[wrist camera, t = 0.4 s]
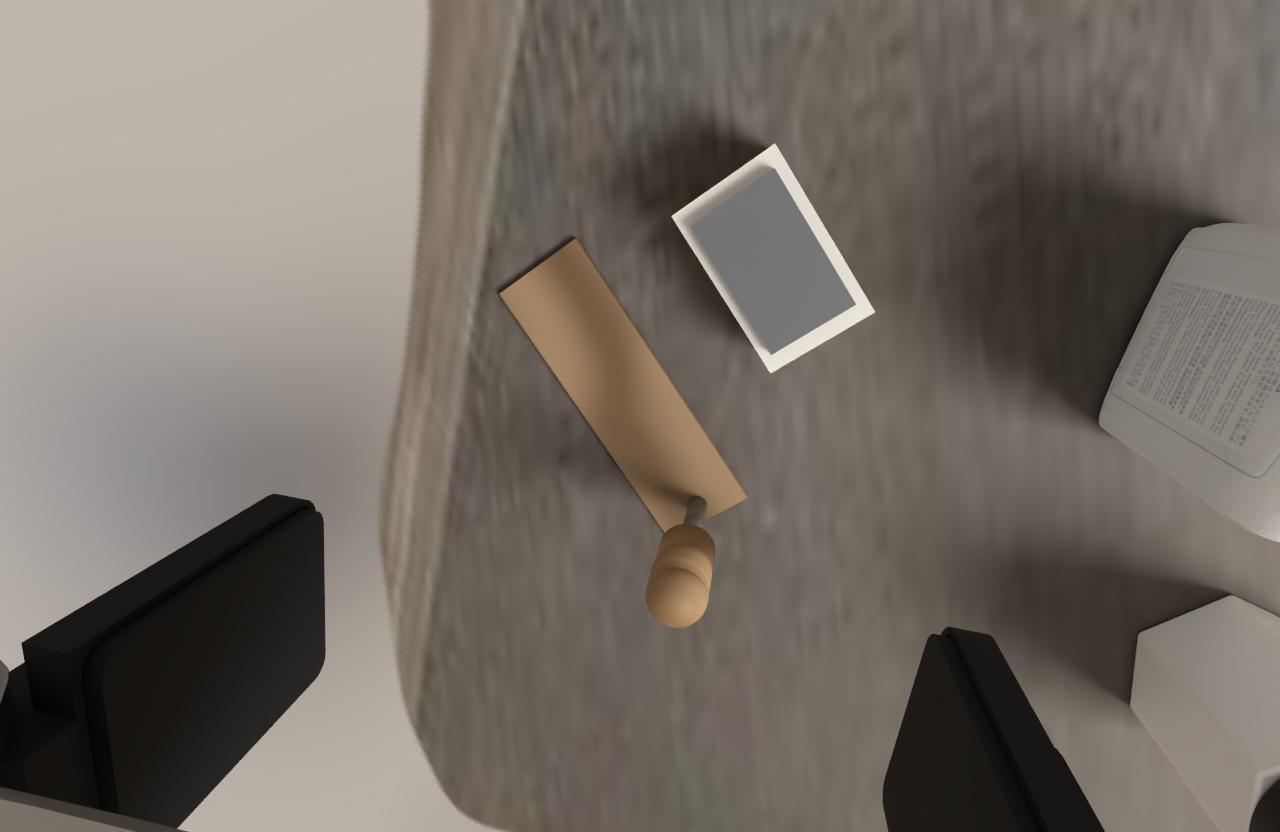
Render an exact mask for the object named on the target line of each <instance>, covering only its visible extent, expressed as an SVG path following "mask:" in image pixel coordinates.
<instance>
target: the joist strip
mask: <svg viewBox="0 0 1280 832" xmlns="http://www.w3.org/2000/svg"><path fill="white" fill-rule="evenodd" d="M500 296H501V297H502V299H503V300H504V302H505V303H506V304H507V306H508V307H509V309H510V310H511V312H512V313H513V315H514V316H515V317H516V319H517V320H518V322H519V323H520V325H521V326H522V328H523V329H524V330H525V332H526V333H527V335H528V336H529V338H530V339H531V341H532V342H533V343H534V345H535V346H536V348H537V349H538V351H539V352H540V354H541V355H542V356H543V358H544V359H545V361H546V362H547V364H548V365H549V367H550V368H551V369H552V371H553V372H554V374H555V375H556V377H557V378H558V380H559V381H560V382H561V384H562V385H563V387H564V388H565V390H566V391H567V393H568V394H569V395H570V397H571V398H572V400H573V401H574V403H575V404H576V405H577V407H578V408H579V410H580V411H581V413H582V414H583V416H584V417H585V418H586V420H587V421H588V423H589V424H590V426H591V427H592V429H593V430H594V431H595V433H596V434H597V436H598V437H599V439H600V440H601V442H602V443H603V444H604V446H605V447H606V449H607V450H608V452H609V453H610V455H611V456H612V457H613V459H614V460H615V462H616V463H617V465H618V466H619V468H620V469H621V470H622V472H623V473H624V475H625V476H626V478H627V479H628V481H629V482H630V483H631V485H632V486H633V488H634V489H635V491H636V492H637V494H638V495H639V496H640V498H641V499H642V501H643V502H644V504H645V505H646V506H647V508H648V509H649V511H650V512H651V514H652V515H653V517H654V518H655V519H656V521H657V522H658V524H659V525H660V527H661V528H662V530H663V531H664V532H666V531H667V530H669V529H670V528H672V527H673V526H676V525H679V524H683V522H684V518H685V514H686V510H687V506H688V502H689V500H690V499H691V498H692V497H694V496H701V497H703V498H704V499H705V500H706V502H707V508H706V513H705V518H704V521H705V520H707V519H709V518H711V517H713V516H715V515H716V514H718V513H720V512H722V511H724V510H726V509H728V508H730V507H732V506H733V505H735V504H737V503H739V502H741V501H743V500H745V499H747V498H748V495H747V494H746V492H745V491H744V489H743V488H742V486H741V485H740V483H739V482H738V480H737V479H736V477H735V476H734V474H733V473H732V471H731V470H730V468H729V467H728V465H727V464H726V462H725V461H724V459H723V458H722V456H721V455H720V453H719V452H718V450H717V449H716V447H715V446H714V444H713V443H712V441H711V440H710V438H709V437H708V435H707V434H706V432H705V431H704V429H703V427H702V426H701V424H700V423H699V421H698V420H697V418H696V417H695V415H694V414H693V412H692V411H691V409H690V408H689V406H688V405H687V403H686V402H685V400H684V399H683V397H682V396H681V394H680V393H679V391H678V390H677V388H676V387H675V385H674V384H673V382H672V381H671V379H670V378H669V376H668V375H667V373H666V372H665V370H664V369H663V367H662V366H661V364H660V363H659V361H658V360H657V358H656V357H655V355H654V353H653V352H652V350H651V349H650V347H649V346H648V344H647V343H646V341H645V340H644V338H643V337H642V335H641V334H640V332H639V331H638V329H637V328H636V326H635V325H634V323H633V322H632V320H631V319H630V317H629V316H628V314H627V313H626V311H625V310H624V308H623V307H622V305H621V304H620V302H619V301H618V299H617V298H616V296H615V295H614V293H613V292H612V290H611V289H610V287H609V286H608V284H607V283H606V281H605V279H604V278H603V276H602V275H601V273H600V272H599V270H598V269H597V267H596V266H595V264H594V263H593V261H592V260H591V258H590V257H589V255H588V254H587V252H586V251H585V249H584V248H583V246H582V245H581V243H580V242H579V240H578V239H577V238H575V239H574V240H573V241H571V242H570V243H569V244H567V245H566V246H564V247H563V248H562V249H560V250H559V251H558V252H556V253H555V254H553V255H552V256H551V257H549V258H548V259H547V260H545V261H544V262H542V263H541V264H540V265H538V266H537V267H536V268H534V269H533V270H531V271H530V272H529V273H527V274H526V275H525V276H523V277H522V278H520V279H519V280H518V281H516V282H515V283H514V284H512V285H511V286H509V287H508V288H507V289H505V290H504V291H503V292H501V293H500Z"/></svg>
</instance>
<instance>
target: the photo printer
mask: <svg viewBox="0 0 1280 832" xmlns="http://www.w3.org/2000/svg"><path fill="white" fill-rule="evenodd" d="M1099 425H1100V426H1101V428H1103V429H1104V430H1105V431H1107V432H1108V433H1109V434H1111V435H1112V436H1114V437H1115V438H1116V439H1118V440H1119V441H1121V442H1122V443H1124V444H1125V445H1126V446H1128V447H1129V448H1131V449H1132V450H1133V451H1135V452H1136V453H1138V454H1139V455H1140V456H1141V457H1143V458H1144V459H1146V460H1147V461H1149V462H1150V463H1151V464H1153V465H1154V466H1156V467H1157V468H1158V469H1160V470H1161V471H1163V472H1164V473H1165V474H1167V475H1168V476H1169V477H1171V478H1172V479H1174V480H1175V481H1176V482H1178V483H1179V484H1180V485H1182V486H1183V487H1185V488H1186V489H1187V490H1189V491H1190V492H1191V493H1193V494H1194V495H1196V496H1197V497H1199V498H1200V499H1201V500H1203V501H1204V502H1205V503H1207V504H1208V505H1210V506H1211V507H1212V508H1214V509H1215V510H1216V511H1218V512H1219V513H1221V514H1222V515H1224V516H1226V517H1228V518H1229V519H1230V520H1232V521H1233V522H1235V523H1236V524H1237V525H1239V526H1240V527H1242V528H1244V529H1246V530H1248V531H1250V532H1253V533H1255V534H1257V535H1260V536H1262V537H1265V538H1268V539H1271V540H1274V541H1277V542H1280V226H1267V225H1253V224H1240V223H1220V224H1215V225H1211V226H1207V227H1204V228H1194V229H1192V230H1191V231H1190V232H1189V233H1188V234H1187V235H1186V237H1185V238H1184V240H1183V241H1182V243H1181V244H1180V245H1179V247H1178V248H1177V250H1176V251H1175V253H1174V255H1173V256H1172V258H1171V260H1170V262H1169V264H1168V266H1167V267H1166V269H1165V271H1164V273H1163V275H1162V277H1161V279H1160V281H1159V283H1158V285H1157V287H1156V289H1155V291H1154V293H1153V295H1152V297H1151V300H1150V301H1149V303H1148V305H1147V307H1146V309H1145V311H1144V314H1143V316H1142V318H1141V320H1140V322H1139V324H1138V326H1137V328H1136V330H1135V332H1134V334H1133V337H1132V339H1131V341H1130V343H1129V345H1128V347H1127V350H1126V352H1125V354H1124V356H1123V358H1122V360H1121V362H1120V364H1119V367H1118V368H1117V370H1116V372H1115V375H1114V377H1113V380H1112V382H1111V384H1110V387H1109V389H1108V392H1107V394H1106V397H1105V399H1104V402H1103V405H1102V408H1101V411H1100V416H1099Z"/></svg>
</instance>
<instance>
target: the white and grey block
mask: <svg viewBox="0 0 1280 832" xmlns="http://www.w3.org/2000/svg"><path fill="white" fill-rule="evenodd" d="M671 217H672V218H673V220H674V221H675V223H676V225H677V226H678V228H679V229H680V231H681V232H682V234H683V236H684V237H685V239H686V240H687V242H688V244H689V245H690V247H691V248H692V250H693V251H694V253H695V255H696V256H697V258H698V259H699V261H700V262H701V264H702V266H703V267H704V269H705V270H706V272H707V274H708V275H709V277H710V278H711V280H712V281H713V283H714V285H715V286H716V288H717V289H718V291H719V293H720V294H721V296H722V297H723V299H724V300H725V302H726V304H727V305H728V307H729V308H730V310H731V312H732V313H733V315H734V316H735V318H736V319H737V321H738V323H739V324H740V326H741V327H742V329H743V330H744V332H745V334H746V335H747V337H748V338H749V340H750V342H751V343H752V345H753V346H754V348H755V349H756V351H757V353H758V354H759V356H760V357H761V359H762V361H763V362H764V364H765V365H766V367H767V368H768V370H769V372H770V373H772V372H774V371H775V370H777V369H779V368H781V367H782V366H784V365H786V364H787V363H789V362H791V361H793V360H794V359H796V358H798V357H799V356H801V355H803V354H804V353H806V352H808V351H810V350H811V349H813V348H815V347H816V346H818V345H820V344H822V343H823V342H825V341H827V340H828V339H830V338H832V337H834V336H835V335H837V334H839V333H840V332H842V331H844V330H846V329H847V328H849V327H851V326H852V325H854V324H856V323H857V322H859V321H861V320H863V319H864V318H866V317H868V316H869V315H871V314H873V313H875V311H874V309H873V308H872V306H871V304H870V303H869V301H868V299H867V298H866V296H865V294H864V293H863V291H862V289H861V288H860V286H859V284H858V282H857V281H856V279H855V277H854V276H853V274H852V272H851V271H850V269H849V267H848V266H847V264H846V262H845V261H844V259H843V257H842V255H841V254H840V252H839V250H838V249H837V247H836V245H835V244H834V242H833V240H832V239H831V237H830V235H829V234H828V232H827V230H826V229H825V227H824V225H823V223H822V222H821V220H820V218H819V217H818V215H817V213H816V212H815V210H814V208H813V207H812V205H811V203H810V202H809V200H808V198H807V197H806V195H805V193H804V191H803V190H802V188H801V186H800V185H799V183H798V181H797V180H796V178H795V176H794V175H793V173H792V171H791V170H790V168H789V166H788V164H787V163H786V161H785V159H784V158H783V156H782V154H781V153H780V151H779V149H778V148H777V146H776V144H774V145H772V146H771V147H769V148H768V149H766V150H765V151H764V152H762V153H761V154H759V155H758V156H756V157H755V158H754V159H752V160H751V161H749V162H748V163H747V164H745V165H744V166H742V167H741V168H739V169H738V170H737V171H735V172H734V173H732V174H731V175H729V176H728V177H727V178H725V179H724V180H722V181H721V182H719V183H718V184H717V185H715V186H714V187H712V188H711V189H709V190H708V191H707V192H705V193H704V194H702V195H701V196H699V197H698V198H697V199H695V200H694V201H692V202H691V203H689V204H688V205H687V206H685V207H684V208H682V209H681V210H679V211H678V212H677V213H675V214H674V215H672V216H671Z"/></svg>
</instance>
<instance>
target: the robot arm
mask: <svg viewBox="0 0 1280 832" xmlns="http://www.w3.org/2000/svg"><path fill="white" fill-rule="evenodd" d="M324 588H325V587H324V522H323V517H322V514H321V513H319V512H317V511H316V510H315V507H314V505H313V503H311V501H309V500H304V499H298V498H293V497H289V496H284V495H279V494H272V495H269V496H267V497H265V498H264V499H262V500H260V501H259V502H257V503H255V504H254V505H252V506H251V507H249V508H247V509H245V510H244V511H242V512H240V513H239V514H237V515H235V516H234V517H232V518H230V519H229V520H227V521H225V522H224V523H222V524H220V525H218V526H217V527H215V528H214V529H212V530H210V531H208V532H207V533H205V534H203V535H202V536H200V537H198V538H197V539H195V540H193V541H192V542H190V543H189V544H187V545H185V546H183V547H182V548H180V549H178V550H177V551H175V552H173V553H172V554H170V555H168V556H166V557H165V558H163V559H161V560H160V561H158V562H157V563H155V564H153V565H151V566H150V567H148V568H146V569H145V570H143V571H141V572H140V573H138V574H137V575H135V576H133V577H131V578H130V579H128V580H126V581H125V582H123V583H121V584H120V585H118V586H116V587H115V588H113V589H111V590H110V591H108V592H107V593H105V594H103V595H101V596H99V597H98V598H96V599H94V600H93V601H91V602H89V603H88V604H86V605H84V606H83V607H81V608H79V609H78V610H76V611H74V612H73V613H71V614H69V615H68V616H66V617H64V618H63V619H61V620H59V621H57V622H56V623H54V624H52V625H51V626H49V627H47V628H46V629H44V630H42V631H41V632H39V633H37V634H36V635H34V636H32V637H31V638H29V639H27V640H26V641H24V642H22V649H23V655H24V660H25V662H24V663H23V664H21V665H20V666H18V667H16V668H15V669H13V670H12V671H10V672H9V669H8V668H7V666H6V665H5V664H4V663H3V662H2V661H1V660H0V832H187V831H183V830H179V829H177V828H178V827H179V826H180V825H181V824H182V823H183V822H184V820H185V819H186V818H187V817H188V816H189V815H190V814H191V813H192V812H193V811H194V810H195V808H197V806H198V805H199V804H200V803H201V802H202V801H203V800H204V799H205V798H206V797H207V796H208V795H209V793H210V792H211V791H212V790H213V789H214V788H215V787H216V786H217V785H218V784H219V783H220V782H221V781H222V779H223V778H224V777H225V776H226V775H227V774H228V773H229V772H230V771H231V770H232V769H233V768H234V766H235V765H236V764H237V763H238V762H239V761H240V760H241V759H242V758H243V757H244V756H245V755H246V754H247V752H248V751H249V750H250V749H251V748H252V747H253V746H254V745H255V744H256V743H257V742H258V741H259V740H260V738H261V737H262V736H263V735H264V734H265V733H266V732H267V731H268V730H269V729H270V728H271V727H272V726H273V724H274V723H275V722H276V721H277V720H278V719H279V718H280V717H281V716H282V715H283V714H284V713H285V711H286V710H287V709H288V708H289V707H290V706H291V705H292V704H293V703H294V702H295V701H296V700H297V699H298V697H299V696H300V695H301V694H302V693H303V692H304V691H305V690H306V689H307V688H308V687H309V686H310V684H311V683H312V682H313V681H314V680H315V679H316V678H317V676H318V675H319V673H320V671H321V669H322V667H323V664H324V660H325V589H324ZM883 807H884V812H885V817H886V821H887V826H888V831H889V832H1105V831H1104V829H1103V827H1102V825H1101V824H1100V822H1099V820H1098V818H1097V817H1096V815H1095V813H1094V811H1093V809H1092V808H1091V806H1090V804H1089V802H1088V801H1087V799H1086V797H1085V795H1084V793H1083V792H1082V790H1081V788H1080V786H1079V785H1078V783H1077V781H1076V779H1075V777H1074V776H1073V774H1072V772H1071V770H1070V769H1069V767H1068V765H1067V763H1066V761H1065V760H1064V758H1063V757H1062V755H1061V754H1060V753H1059V751H1058V750H1057V749H1056V748H1054V746H1053V744H1052V742H1051V741H1050V739H1049V737H1048V735H1047V733H1046V732H1045V730H1044V728H1043V726H1042V724H1041V723H1040V721H1039V719H1038V717H1037V716H1036V714H1035V712H1034V710H1033V708H1032V707H1031V705H1030V703H1029V701H1028V699H1027V698H1026V696H1025V694H1024V692H1023V690H1022V689H1021V687H1020V685H1019V683H1018V681H1017V680H1016V678H1015V676H1014V674H1013V672H1012V671H1011V669H1010V667H1009V665H1008V663H1007V662H1006V660H1005V658H1004V656H1003V654H1002V653H1001V651H1000V649H999V647H998V645H997V644H996V642H995V640H994V639H993V638H992V636H991V635H988V634H983V633H978V632H973V631H968V630H963V629H958V628H953V627H947V628H945V629H944V631H943V632H942V634H941V635H936V634H932V635H930V636H929V638H928V640H927V642H926V645H925V648H924V652H923V655H922V658H921V662H920V665H919V668H918V671H917V675H916V678H915V681H914V685H913V688H912V691H911V694H910V698H909V701H908V704H907V707H906V711H905V714H904V717H903V721H902V724H901V727H900V730H899V734H898V737H897V740H896V744H895V747H894V750H893V753H892V757H891V760H890V763H889V766H888V770H887V773H886V776H885V780H884V786H883Z"/></svg>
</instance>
